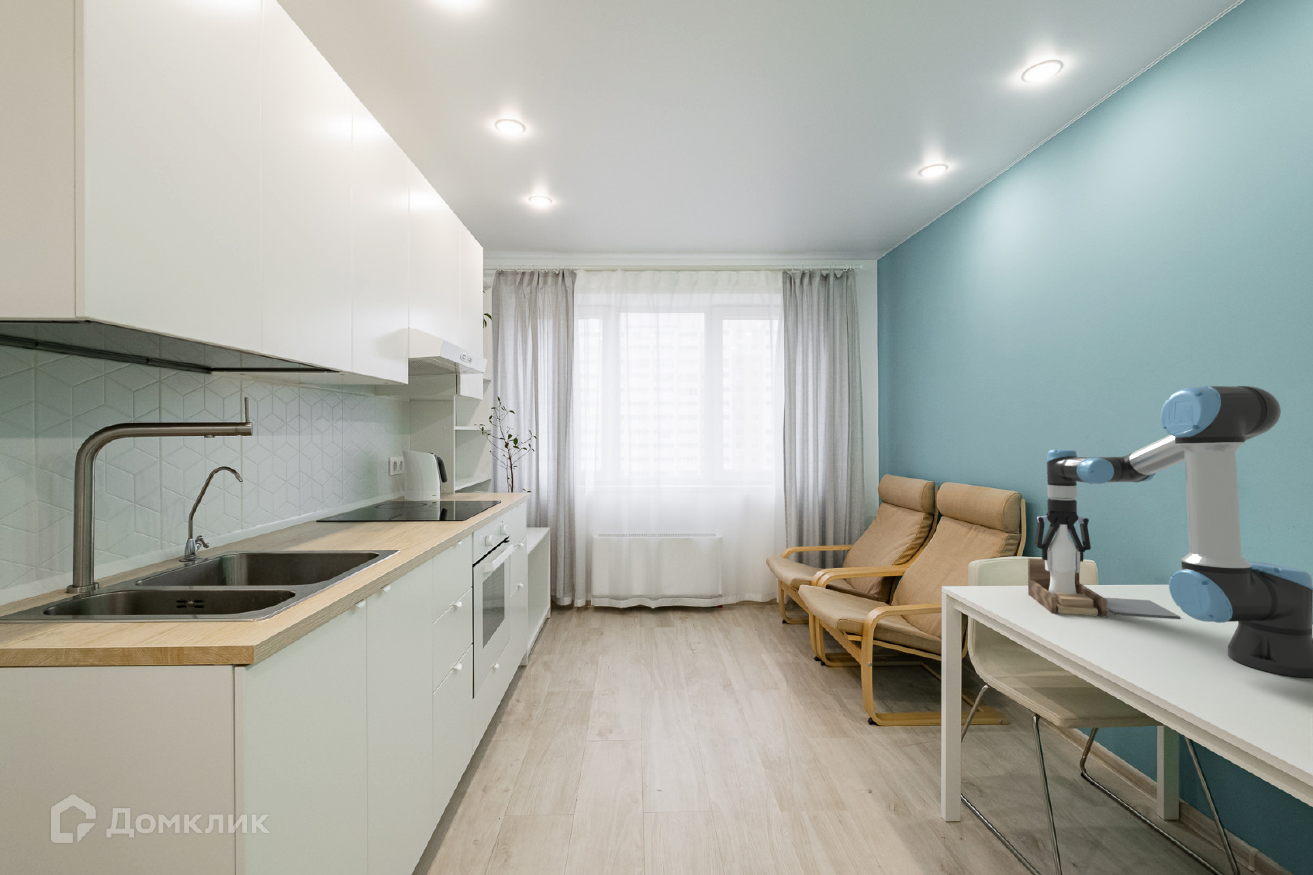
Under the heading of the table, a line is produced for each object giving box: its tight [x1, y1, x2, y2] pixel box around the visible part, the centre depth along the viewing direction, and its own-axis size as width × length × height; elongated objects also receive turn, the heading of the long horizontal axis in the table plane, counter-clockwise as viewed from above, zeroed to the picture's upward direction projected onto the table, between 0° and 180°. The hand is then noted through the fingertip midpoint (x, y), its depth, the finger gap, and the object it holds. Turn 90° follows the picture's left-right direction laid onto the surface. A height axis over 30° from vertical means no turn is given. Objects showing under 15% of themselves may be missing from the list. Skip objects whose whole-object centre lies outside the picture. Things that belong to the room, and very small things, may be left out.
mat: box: [1104, 597, 1181, 620], centre depth 172 cm, size 16×16×1 cm
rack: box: [1027, 557, 1108, 617], centre depth 176 cm, size 20×14×12 cm
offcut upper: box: [1054, 593, 1093, 609], centre depth 171 cm, size 6×8×2 cm
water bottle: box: [1048, 524, 1077, 595], centre depth 178 cm, size 7×7×25 cm
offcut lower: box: [1056, 603, 1099, 616], centre depth 171 cm, size 7×10×2 cm
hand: (1062, 570), depth 178 cm, fingers closed on water bottle, 7 cm apart
